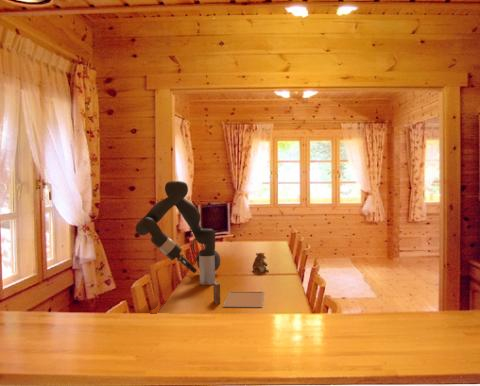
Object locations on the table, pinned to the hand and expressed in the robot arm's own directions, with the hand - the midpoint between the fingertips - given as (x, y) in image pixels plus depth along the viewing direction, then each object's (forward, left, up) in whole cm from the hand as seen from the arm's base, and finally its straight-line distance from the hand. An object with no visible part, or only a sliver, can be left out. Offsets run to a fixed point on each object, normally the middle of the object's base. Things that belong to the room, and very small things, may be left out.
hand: (194, 271), depth 212 cm
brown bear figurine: (-81, +18, -17) cm, 85 cm away
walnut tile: (-5, +10, -17) cm, 20 cm away
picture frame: (-12, +23, -18) cm, 31 cm away
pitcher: (-67, -15, -17) cm, 71 cm away
